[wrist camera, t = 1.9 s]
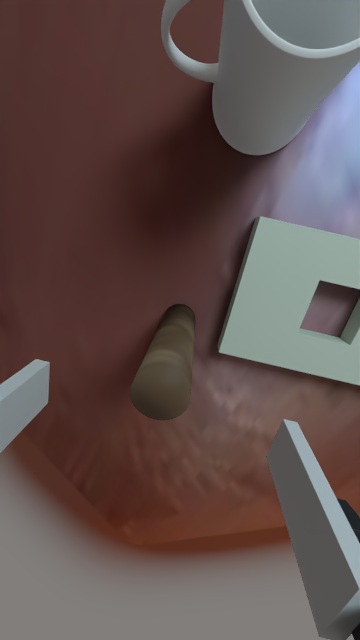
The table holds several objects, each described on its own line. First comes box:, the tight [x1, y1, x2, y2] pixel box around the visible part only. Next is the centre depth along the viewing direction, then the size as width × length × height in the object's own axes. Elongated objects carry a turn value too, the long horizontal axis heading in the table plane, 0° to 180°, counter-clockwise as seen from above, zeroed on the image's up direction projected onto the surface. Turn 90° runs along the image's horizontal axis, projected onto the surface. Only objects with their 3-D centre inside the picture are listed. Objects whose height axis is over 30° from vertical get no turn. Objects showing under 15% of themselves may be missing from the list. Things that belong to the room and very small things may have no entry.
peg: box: [130, 304, 195, 420], centre depth 21 cm, size 4×4×14 cm
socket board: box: [218, 216, 360, 385], centre depth 24 cm, size 20×14×2 cm
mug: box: [161, 0, 360, 155], centre depth 15 cm, size 12×8×12 cm
